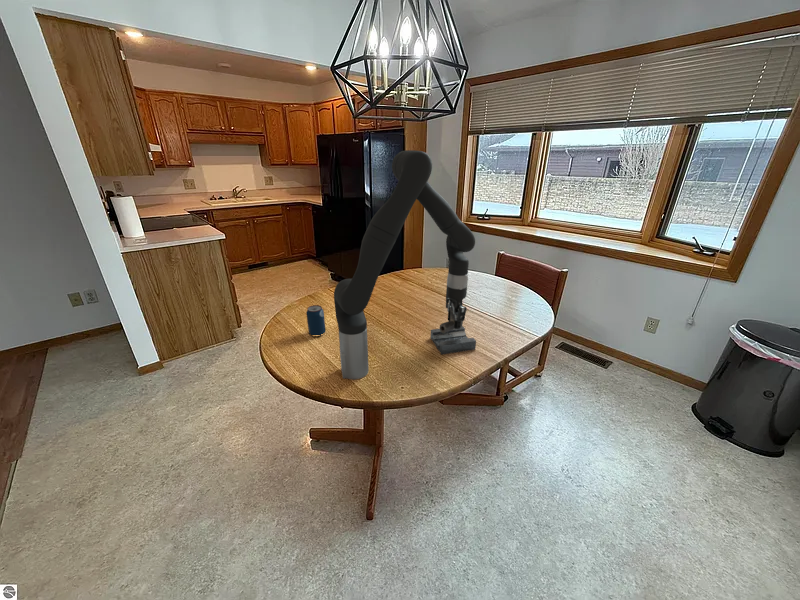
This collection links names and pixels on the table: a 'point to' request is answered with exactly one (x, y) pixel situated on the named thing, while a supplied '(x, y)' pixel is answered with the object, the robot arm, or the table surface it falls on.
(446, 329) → the pipe
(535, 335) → the table surface
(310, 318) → the soda can
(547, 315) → the table surface
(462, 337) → the v block
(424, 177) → the robot arm
